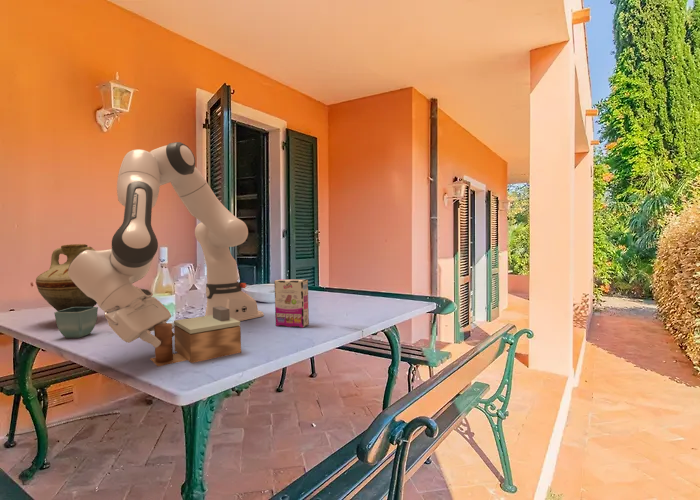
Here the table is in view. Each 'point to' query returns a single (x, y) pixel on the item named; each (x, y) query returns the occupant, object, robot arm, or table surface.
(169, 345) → the brown wooden cylinder
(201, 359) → the crate
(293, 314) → the candy bar box
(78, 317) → the flower pot
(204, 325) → the lid
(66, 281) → the amphora
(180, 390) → the table surface
